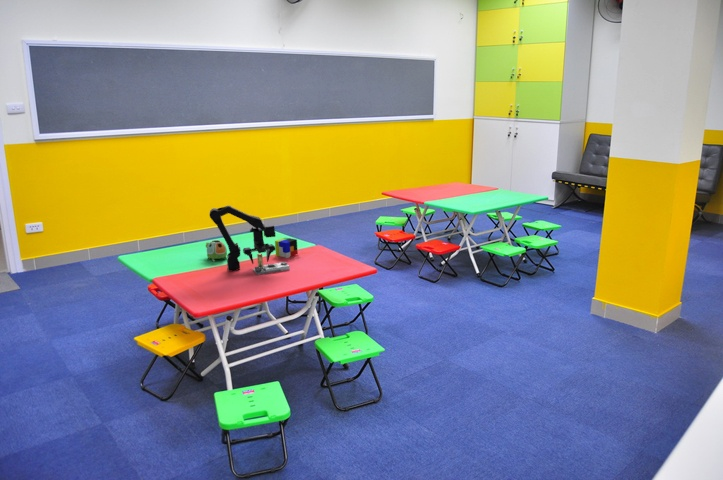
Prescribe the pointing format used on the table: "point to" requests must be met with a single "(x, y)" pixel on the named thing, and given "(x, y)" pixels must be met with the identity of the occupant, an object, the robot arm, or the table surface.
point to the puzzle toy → (286, 247)
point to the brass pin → (260, 260)
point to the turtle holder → (216, 250)
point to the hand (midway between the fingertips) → (260, 262)
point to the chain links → (271, 268)
